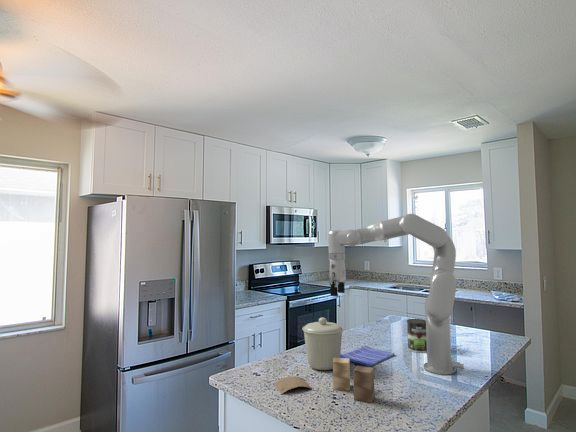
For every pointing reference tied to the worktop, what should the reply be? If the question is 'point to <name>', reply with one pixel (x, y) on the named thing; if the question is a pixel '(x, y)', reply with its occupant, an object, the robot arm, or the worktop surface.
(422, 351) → the coffee can
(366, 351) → the dish towel
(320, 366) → the canister
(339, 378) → the oak block
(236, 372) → the worktop surface
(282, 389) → the clay tablet
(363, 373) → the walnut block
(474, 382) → the worktop surface
